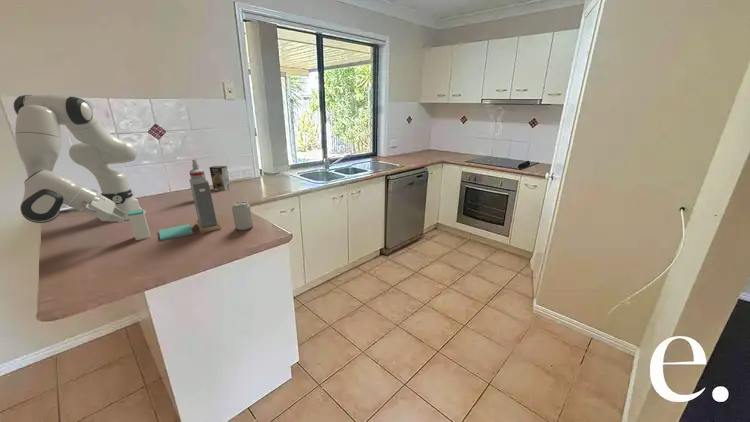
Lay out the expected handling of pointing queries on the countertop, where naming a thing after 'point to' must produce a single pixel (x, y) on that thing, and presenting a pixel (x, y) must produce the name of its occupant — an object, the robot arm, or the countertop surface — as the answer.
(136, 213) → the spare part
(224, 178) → the coffee box
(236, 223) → the can
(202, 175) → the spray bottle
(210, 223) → the mounted unit
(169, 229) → the pad
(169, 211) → the countertop surface
